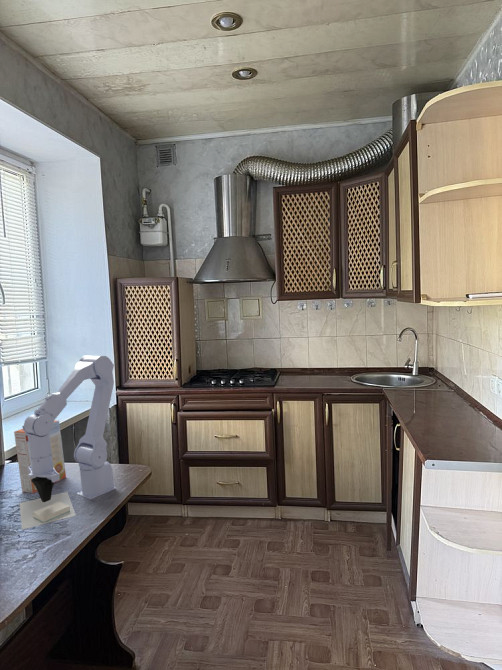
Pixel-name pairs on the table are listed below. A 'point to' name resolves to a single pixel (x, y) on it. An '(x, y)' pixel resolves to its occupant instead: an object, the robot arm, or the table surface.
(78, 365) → the robot arm
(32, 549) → the table surface
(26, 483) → the cracker box
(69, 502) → the mat
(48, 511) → the tile
